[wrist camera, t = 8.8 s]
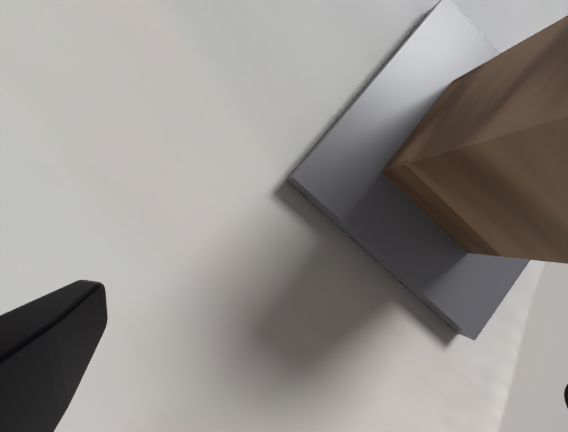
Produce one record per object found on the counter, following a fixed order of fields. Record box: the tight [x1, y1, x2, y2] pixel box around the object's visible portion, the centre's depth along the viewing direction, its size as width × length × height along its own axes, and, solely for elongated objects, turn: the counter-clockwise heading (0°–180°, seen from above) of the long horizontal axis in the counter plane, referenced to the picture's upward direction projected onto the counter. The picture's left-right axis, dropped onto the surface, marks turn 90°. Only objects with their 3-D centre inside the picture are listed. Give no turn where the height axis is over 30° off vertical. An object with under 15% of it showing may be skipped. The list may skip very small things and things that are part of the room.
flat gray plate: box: [287, 0, 530, 340], centre depth 19 cm, size 12×12×3 cm
